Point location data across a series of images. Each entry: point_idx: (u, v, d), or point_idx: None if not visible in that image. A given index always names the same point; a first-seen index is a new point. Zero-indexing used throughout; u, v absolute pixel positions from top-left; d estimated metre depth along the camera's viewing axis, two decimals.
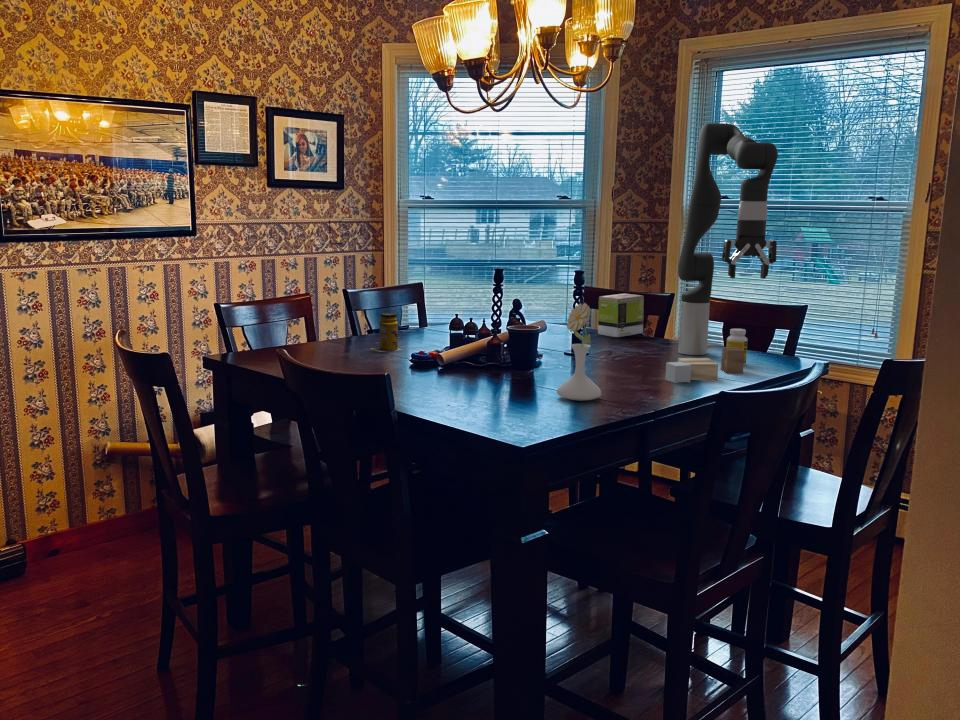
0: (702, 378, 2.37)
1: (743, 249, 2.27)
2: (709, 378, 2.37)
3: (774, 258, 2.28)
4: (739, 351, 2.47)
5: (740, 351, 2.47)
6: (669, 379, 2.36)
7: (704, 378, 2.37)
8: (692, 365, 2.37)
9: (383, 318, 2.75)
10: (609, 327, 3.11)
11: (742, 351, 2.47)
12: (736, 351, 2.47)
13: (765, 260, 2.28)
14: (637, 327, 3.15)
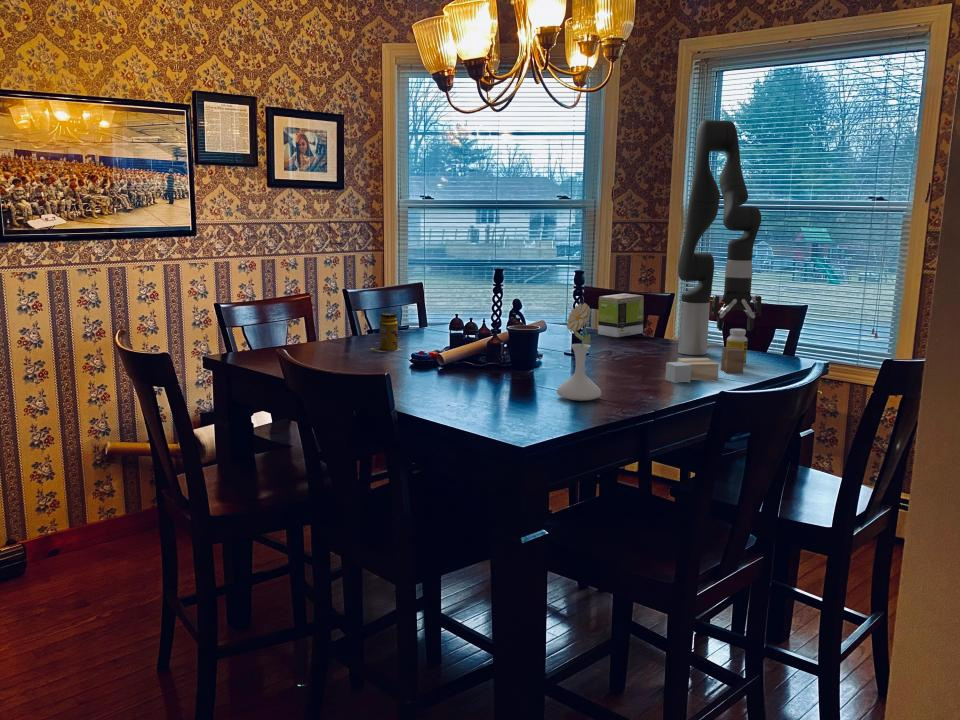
0: (703, 378, 2.37)
1: (730, 304, 2.45)
2: (710, 378, 2.38)
3: (759, 312, 2.46)
4: (739, 351, 2.47)
5: (740, 351, 2.47)
6: (669, 379, 2.36)
7: (705, 378, 2.37)
8: (693, 365, 2.36)
9: (383, 318, 2.75)
10: (609, 327, 3.11)
11: (742, 351, 2.47)
12: (736, 351, 2.47)
13: (751, 314, 2.46)
14: (637, 327, 3.15)
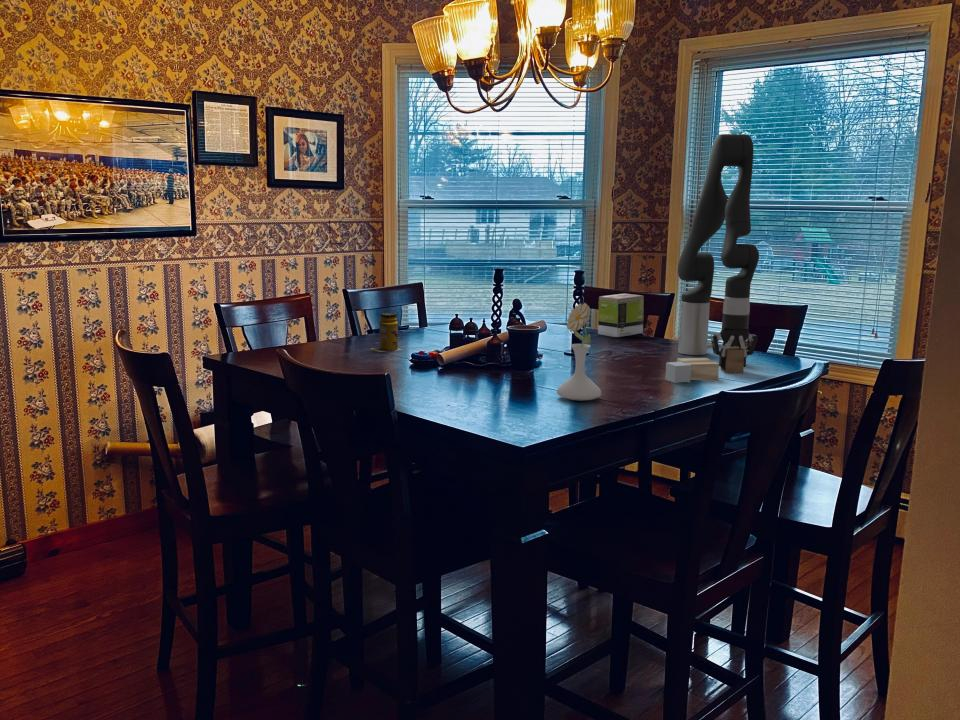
0: (703, 378, 2.37)
1: (729, 341, 2.47)
2: (710, 378, 2.38)
3: (751, 351, 2.48)
4: (739, 351, 2.47)
5: (740, 351, 2.47)
6: (669, 379, 2.36)
7: (705, 378, 2.38)
8: (694, 365, 2.36)
9: (383, 318, 2.75)
10: (609, 327, 3.11)
11: (742, 351, 2.47)
12: (736, 351, 2.47)
13: None
14: (637, 327, 3.15)
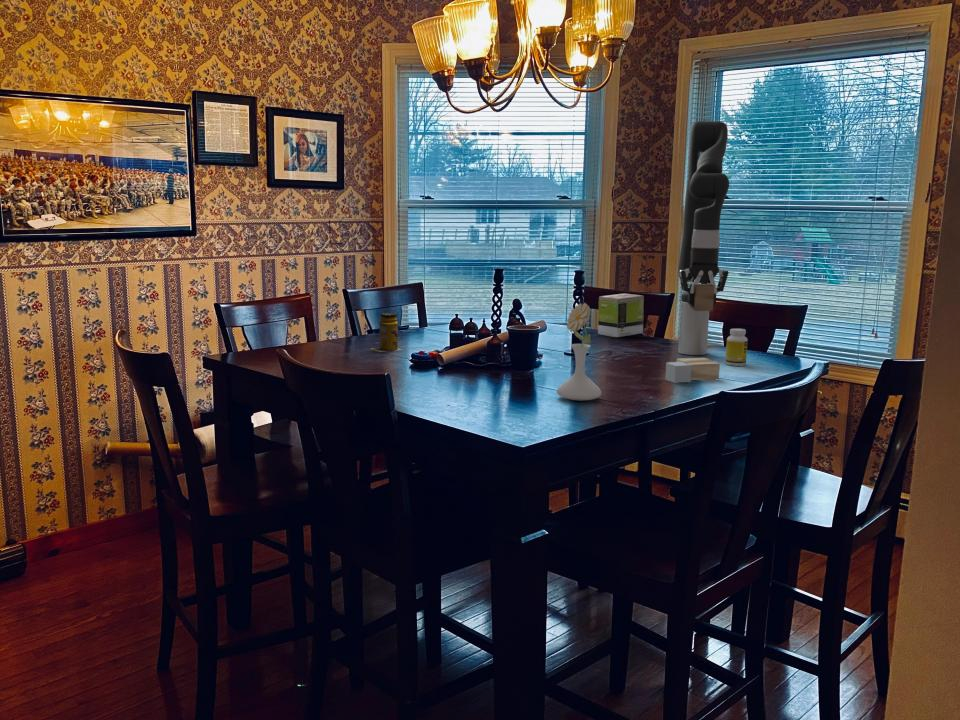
0: (704, 378, 2.38)
1: (698, 277, 2.35)
2: (711, 378, 2.38)
3: (721, 287, 2.36)
4: (709, 287, 2.34)
5: (710, 287, 2.34)
6: (669, 379, 2.36)
7: (706, 378, 2.38)
8: (695, 365, 2.36)
9: (383, 318, 2.75)
10: (609, 327, 3.11)
11: (712, 287, 2.34)
12: (705, 287, 2.34)
13: None
14: (637, 327, 3.15)
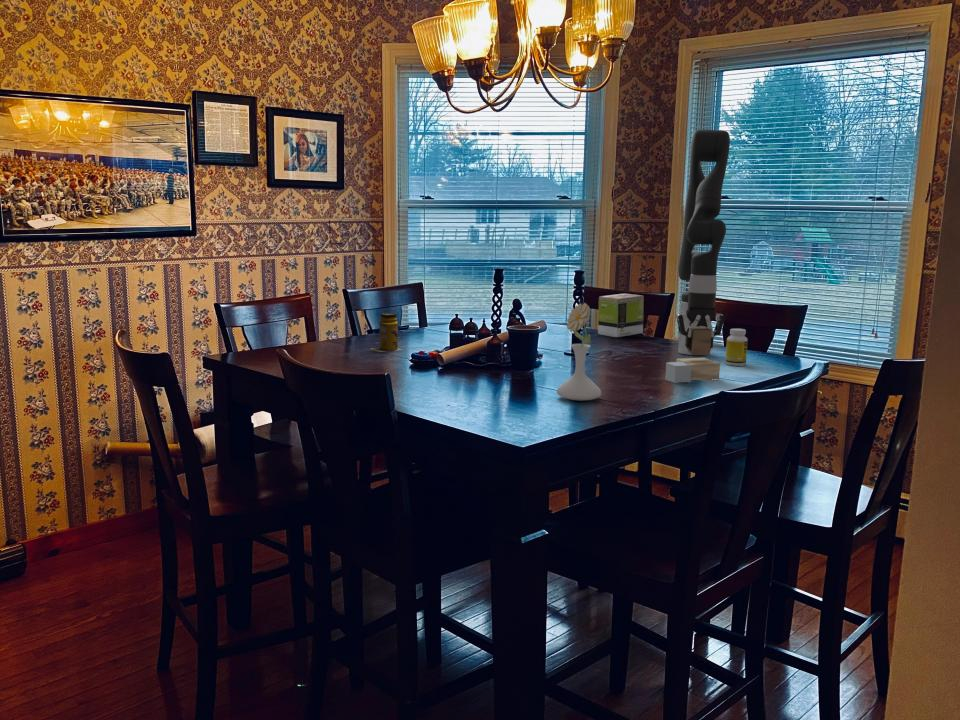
0: (705, 378, 2.38)
1: (695, 321, 2.37)
2: (711, 378, 2.38)
3: (718, 331, 2.38)
4: (706, 331, 2.37)
5: (707, 331, 2.37)
6: (669, 379, 2.36)
7: (707, 378, 2.38)
8: (696, 365, 2.36)
9: (383, 318, 2.75)
10: (609, 327, 3.11)
11: (709, 331, 2.37)
12: (703, 331, 2.37)
13: (711, 332, 2.38)
14: (637, 327, 3.15)
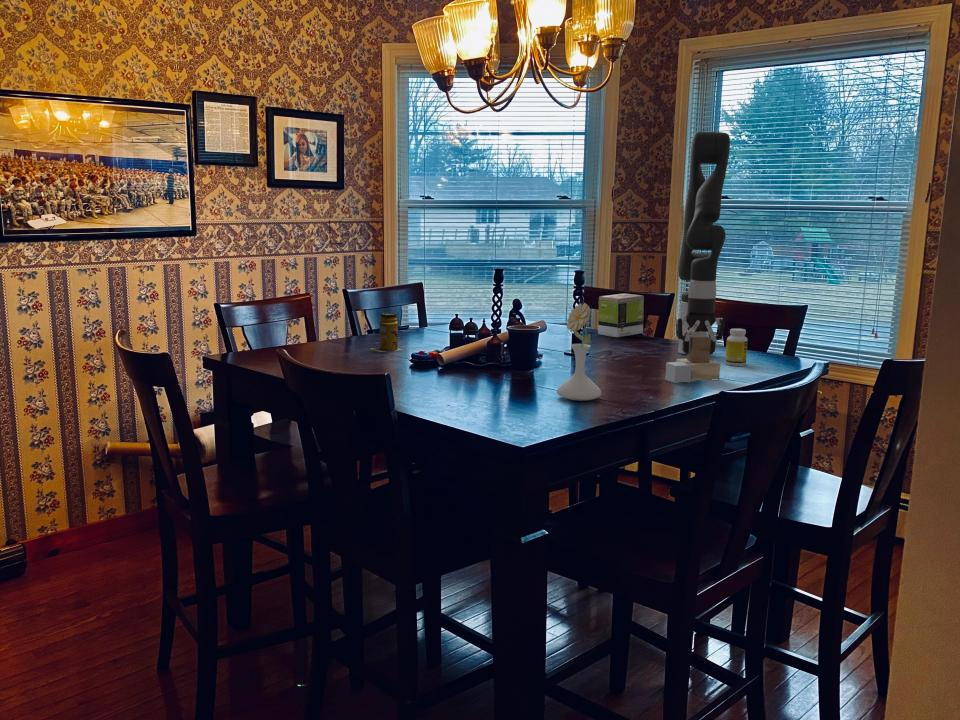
0: (706, 378, 2.38)
1: (694, 326, 2.37)
2: (712, 378, 2.38)
3: (721, 335, 2.39)
4: (705, 339, 2.37)
5: (706, 339, 2.37)
6: (669, 379, 2.36)
7: (707, 378, 2.38)
8: (697, 366, 2.36)
9: (383, 318, 2.75)
10: (609, 327, 3.11)
11: (708, 339, 2.37)
12: (702, 339, 2.37)
13: (712, 337, 2.39)
14: (637, 327, 3.15)
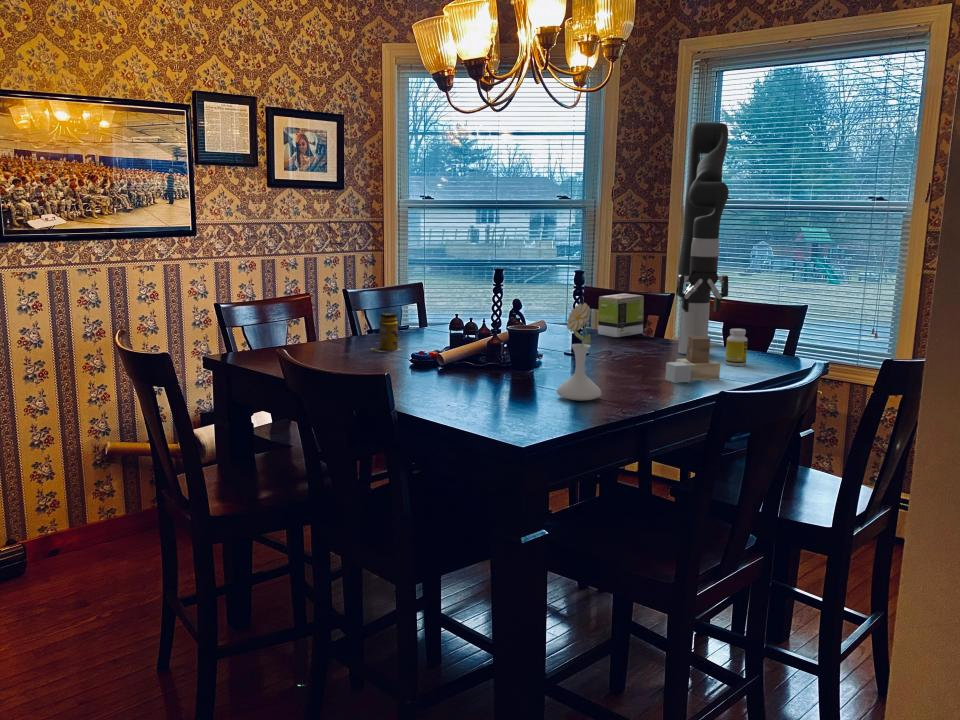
0: (706, 378, 2.38)
1: (696, 284, 2.35)
2: (712, 378, 2.38)
3: (726, 292, 2.36)
4: (704, 340, 2.37)
5: (705, 340, 2.37)
6: (669, 379, 2.36)
7: (707, 378, 2.38)
8: (697, 366, 2.36)
9: (383, 318, 2.75)
10: (609, 327, 3.11)
11: (708, 340, 2.37)
12: (701, 340, 2.37)
13: (717, 294, 2.36)
14: (637, 327, 3.15)
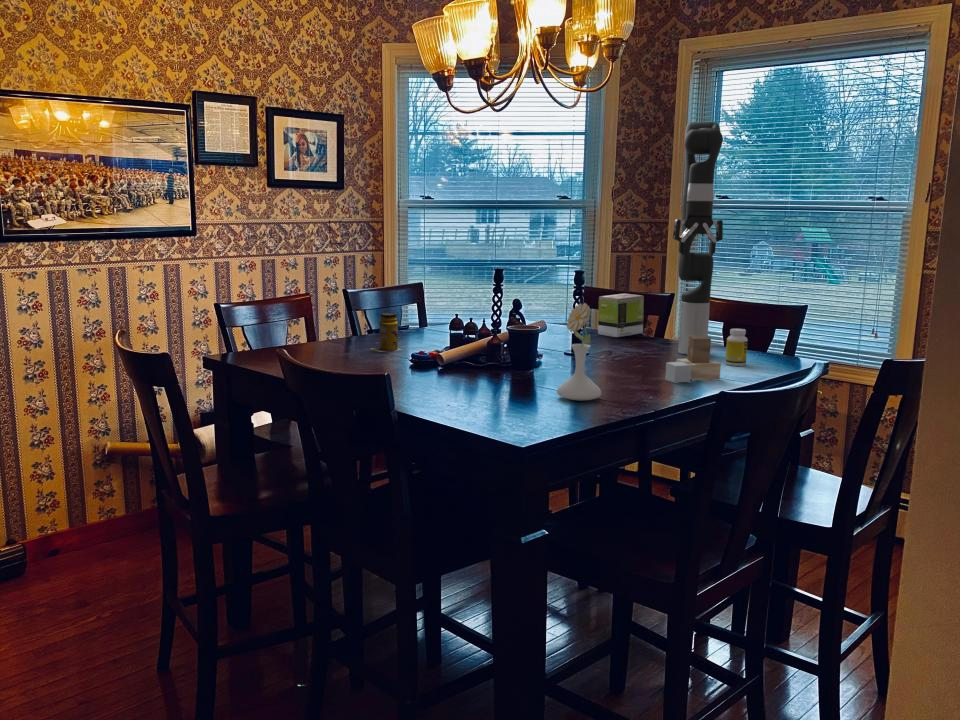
0: (706, 378, 2.38)
1: (692, 228, 2.46)
2: (712, 377, 2.38)
3: (720, 236, 2.47)
4: (705, 339, 2.37)
5: (706, 339, 2.37)
6: (669, 379, 2.36)
7: (708, 378, 2.38)
8: (698, 366, 2.36)
9: (383, 318, 2.75)
10: (609, 327, 3.11)
11: (708, 339, 2.37)
12: (702, 339, 2.37)
13: (712, 238, 2.47)
14: (637, 327, 3.15)
